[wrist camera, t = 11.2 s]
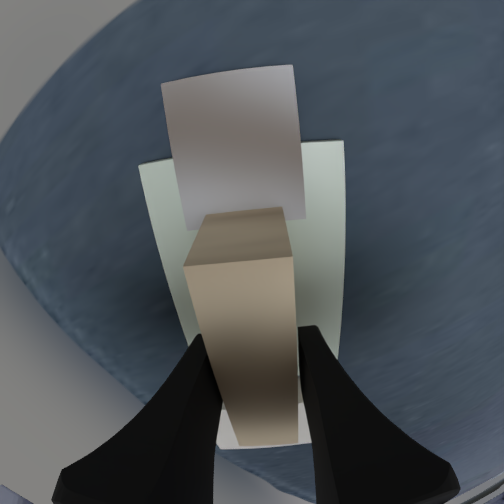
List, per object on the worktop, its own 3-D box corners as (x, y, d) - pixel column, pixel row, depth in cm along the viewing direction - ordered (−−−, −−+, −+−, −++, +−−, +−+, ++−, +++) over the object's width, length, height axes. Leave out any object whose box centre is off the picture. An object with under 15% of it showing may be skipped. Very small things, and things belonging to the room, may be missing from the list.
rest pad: (334, 365, 15) (336, 371, 14) (202, 374, 15) (201, 380, 15) (340, 139, 10) (343, 140, 9) (142, 163, 10) (138, 165, 10)
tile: (330, 439, 15) (220, 449, 16) (326, 413, 17) (223, 423, 18) (331, 398, 13) (195, 410, 14) (325, 367, 15) (200, 381, 16)
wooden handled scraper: (307, 373, 14) (315, 441, 11) (228, 379, 15) (222, 446, 11) (290, 67, 8) (311, 41, 5) (166, 84, 8) (111, 76, 5)
